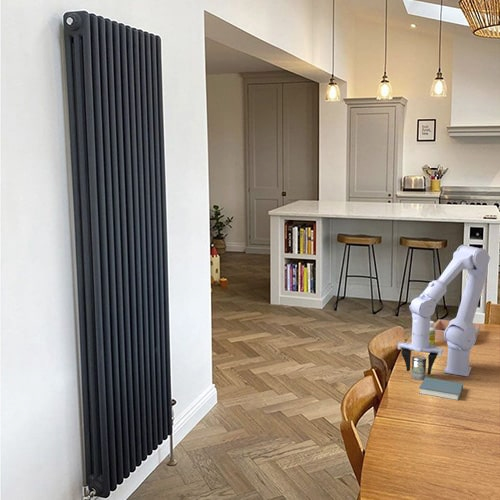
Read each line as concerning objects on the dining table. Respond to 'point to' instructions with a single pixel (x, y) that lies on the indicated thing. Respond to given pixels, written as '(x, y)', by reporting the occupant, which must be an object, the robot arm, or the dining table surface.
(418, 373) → the tea tin
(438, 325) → the open box
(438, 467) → the dining table surface
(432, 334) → the supplement bottle
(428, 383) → the hardcover book
